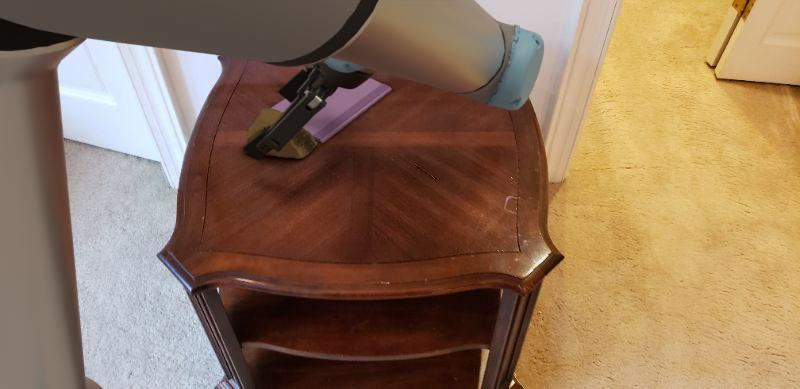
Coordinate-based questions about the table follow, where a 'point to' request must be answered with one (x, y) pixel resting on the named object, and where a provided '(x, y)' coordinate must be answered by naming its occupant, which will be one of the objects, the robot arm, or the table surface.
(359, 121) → the table surface
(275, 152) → the rock
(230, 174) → the table surface
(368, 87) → the lavender flat block
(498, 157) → the table surface
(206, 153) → the table surface
